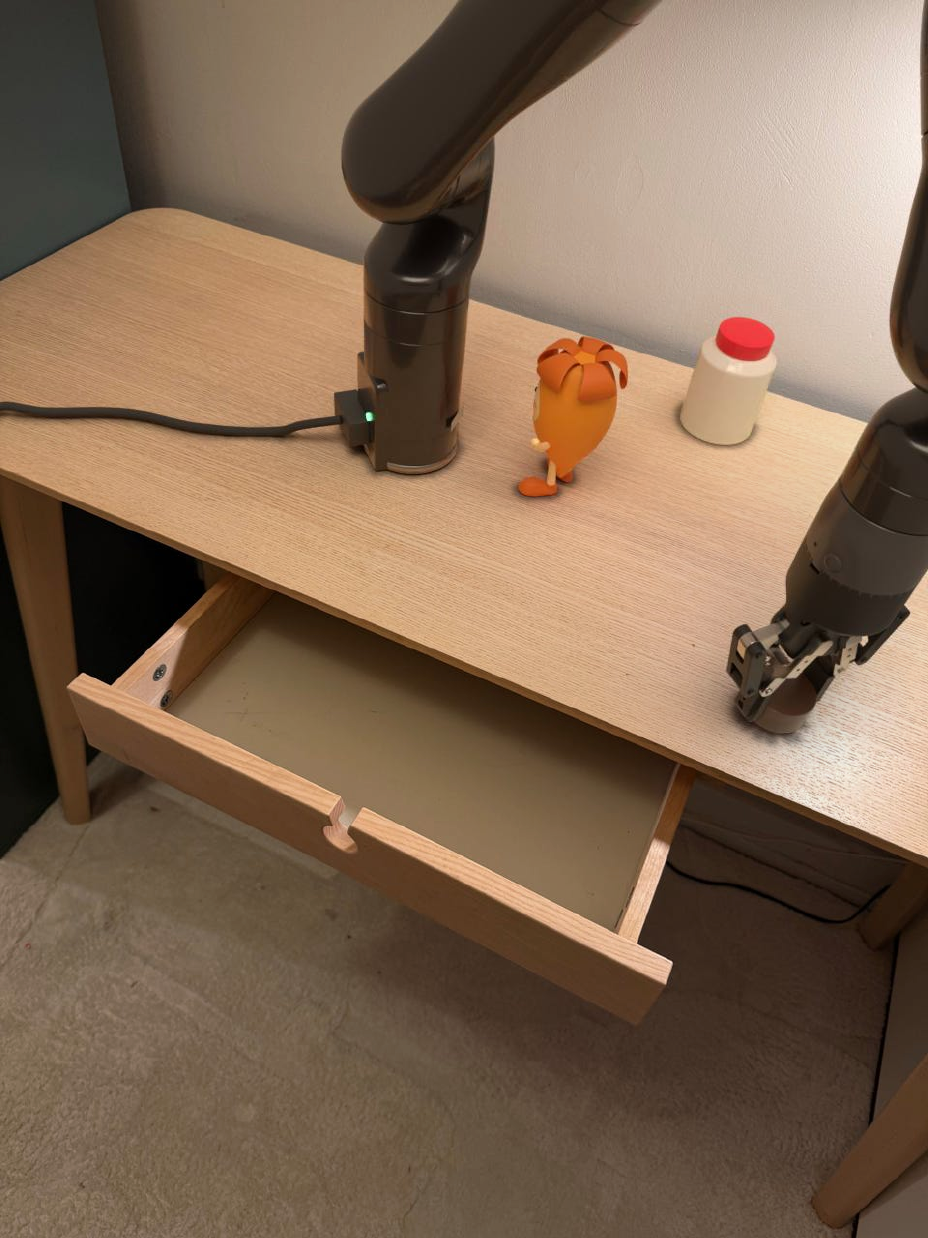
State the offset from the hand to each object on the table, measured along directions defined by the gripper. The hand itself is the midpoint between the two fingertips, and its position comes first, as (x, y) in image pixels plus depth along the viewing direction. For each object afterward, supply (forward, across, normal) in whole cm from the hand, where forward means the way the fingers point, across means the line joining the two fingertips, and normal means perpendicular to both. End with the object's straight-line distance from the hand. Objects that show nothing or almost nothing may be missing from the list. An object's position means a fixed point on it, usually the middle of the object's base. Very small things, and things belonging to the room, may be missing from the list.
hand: (776, 702), depth 71 cm
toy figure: (+2, +5, -30) cm, 30 cm away
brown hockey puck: (+1, 0, 0) cm, 1 cm away
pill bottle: (+2, -16, -35) cm, 39 cm away
